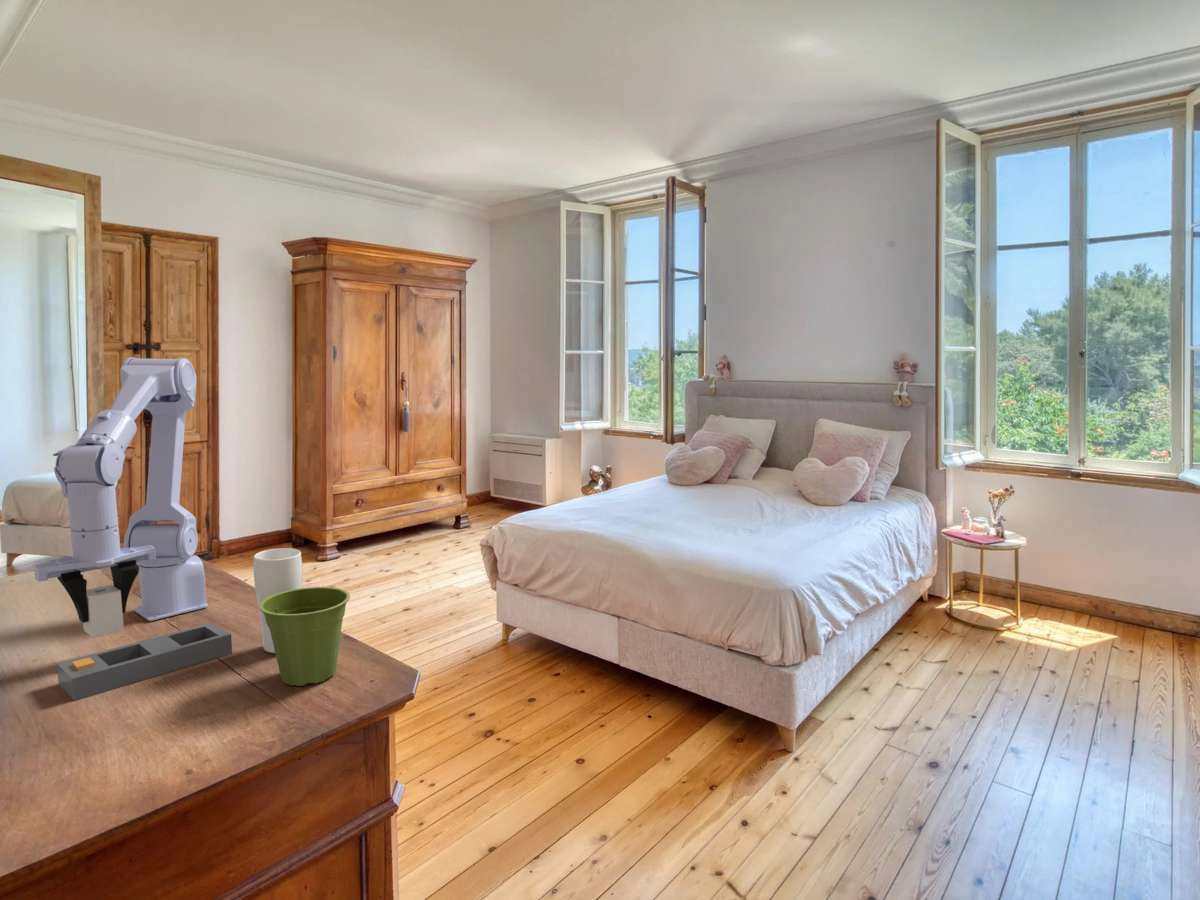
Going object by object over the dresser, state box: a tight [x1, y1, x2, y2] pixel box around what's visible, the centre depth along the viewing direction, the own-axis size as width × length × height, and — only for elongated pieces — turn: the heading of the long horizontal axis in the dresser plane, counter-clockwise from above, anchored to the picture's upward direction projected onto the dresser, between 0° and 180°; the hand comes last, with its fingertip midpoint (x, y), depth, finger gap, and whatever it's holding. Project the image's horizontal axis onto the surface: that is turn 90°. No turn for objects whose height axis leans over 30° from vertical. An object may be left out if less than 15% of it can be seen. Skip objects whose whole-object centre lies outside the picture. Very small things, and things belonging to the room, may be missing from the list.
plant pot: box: [259, 586, 351, 687], centre depth 101 cm, size 12×12×11 cm
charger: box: [82, 584, 125, 638], centre depth 106 cm, size 4×4×6 cm
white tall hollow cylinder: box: [253, 547, 304, 654], centre depth 110 cm, size 7×7×15 cm
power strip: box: [56, 622, 233, 701], centre depth 103 cm, size 20×7×4 cm, turn 140°
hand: (102, 616), depth 106 cm, fingers closed on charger, 4 cm apart
